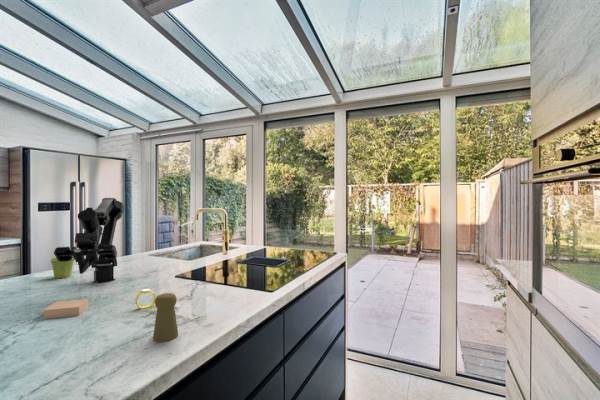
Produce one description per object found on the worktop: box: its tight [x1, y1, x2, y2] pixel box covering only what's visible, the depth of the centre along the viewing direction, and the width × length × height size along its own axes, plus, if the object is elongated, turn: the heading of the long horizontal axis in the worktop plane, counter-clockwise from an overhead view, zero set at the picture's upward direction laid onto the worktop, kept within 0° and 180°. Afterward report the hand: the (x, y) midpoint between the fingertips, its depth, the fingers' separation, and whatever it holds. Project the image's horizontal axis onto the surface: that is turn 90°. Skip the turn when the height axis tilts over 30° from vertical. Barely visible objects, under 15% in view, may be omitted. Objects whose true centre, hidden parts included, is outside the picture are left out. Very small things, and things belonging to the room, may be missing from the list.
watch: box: [134, 288, 157, 310], centre depth 101 cm, size 6×3×6 cm, turn 127°
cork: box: [152, 292, 179, 343], centre depth 80 cm, size 6×6×11 cm
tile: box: [43, 298, 89, 320], centre depth 97 cm, size 3×9×8 cm
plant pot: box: [49, 257, 75, 279], centre depth 141 cm, size 9×9×9 cm
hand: (81, 273), depth 108 cm, fingers closed
